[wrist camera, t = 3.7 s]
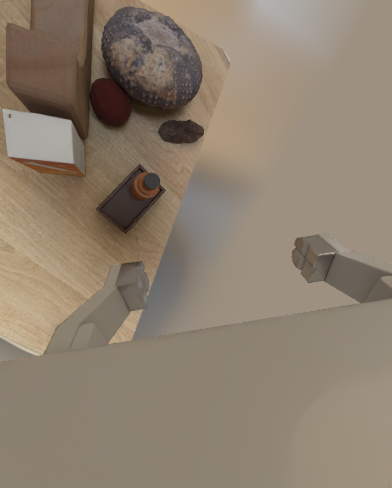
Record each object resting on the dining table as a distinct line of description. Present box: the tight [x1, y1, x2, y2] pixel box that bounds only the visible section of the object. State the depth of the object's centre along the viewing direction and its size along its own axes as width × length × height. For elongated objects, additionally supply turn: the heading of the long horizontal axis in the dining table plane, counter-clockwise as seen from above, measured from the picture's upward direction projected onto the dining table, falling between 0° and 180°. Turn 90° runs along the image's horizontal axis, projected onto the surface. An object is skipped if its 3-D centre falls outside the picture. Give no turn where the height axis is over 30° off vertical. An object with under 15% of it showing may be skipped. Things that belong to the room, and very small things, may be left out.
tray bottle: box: [131, 172, 160, 200], centre depth 38 cm, size 5×5×16 cm
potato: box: [90, 78, 131, 126], centre depth 38 cm, size 7×8×7 cm
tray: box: [96, 164, 166, 234], centre depth 45 cm, size 14×8×3 cm, turn 136°
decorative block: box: [6, 0, 94, 138], centre depth 31 cm, size 15×8×30 cm
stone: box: [158, 120, 204, 143], centre depth 46 cm, size 11×2×5 cm
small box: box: [2, 108, 86, 176], centre depth 34 cm, size 8×6×13 cm
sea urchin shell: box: [101, 7, 203, 109], centre depth 37 cm, size 19×19×10 cm
